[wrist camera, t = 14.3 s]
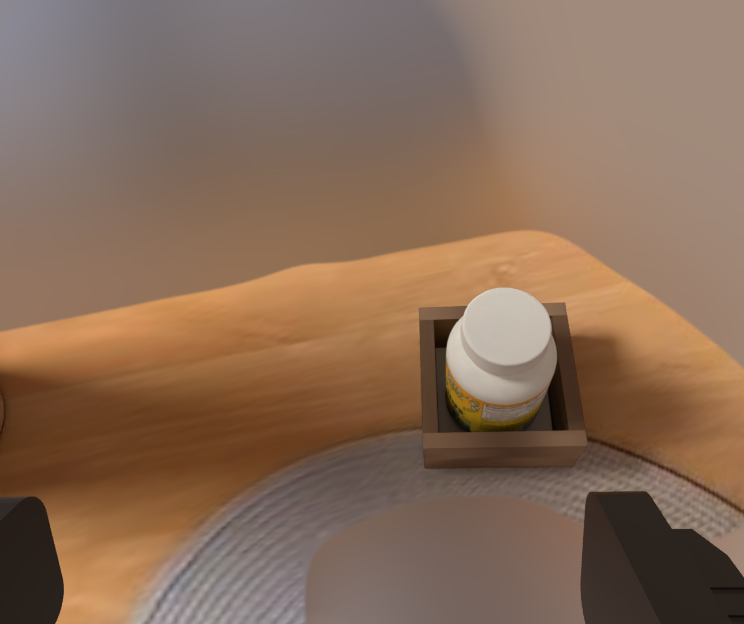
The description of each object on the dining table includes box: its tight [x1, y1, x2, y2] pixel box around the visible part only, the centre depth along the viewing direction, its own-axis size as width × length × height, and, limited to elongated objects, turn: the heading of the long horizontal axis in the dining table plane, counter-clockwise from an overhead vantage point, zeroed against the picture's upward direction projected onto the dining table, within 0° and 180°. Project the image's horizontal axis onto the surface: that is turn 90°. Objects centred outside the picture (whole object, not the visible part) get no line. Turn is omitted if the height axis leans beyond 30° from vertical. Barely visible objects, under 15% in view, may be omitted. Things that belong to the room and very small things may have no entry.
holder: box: [419, 303, 588, 468], centre depth 35 cm, size 8×8×4 cm
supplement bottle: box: [445, 288, 557, 432], centre depth 32 cm, size 5×5×10 cm
